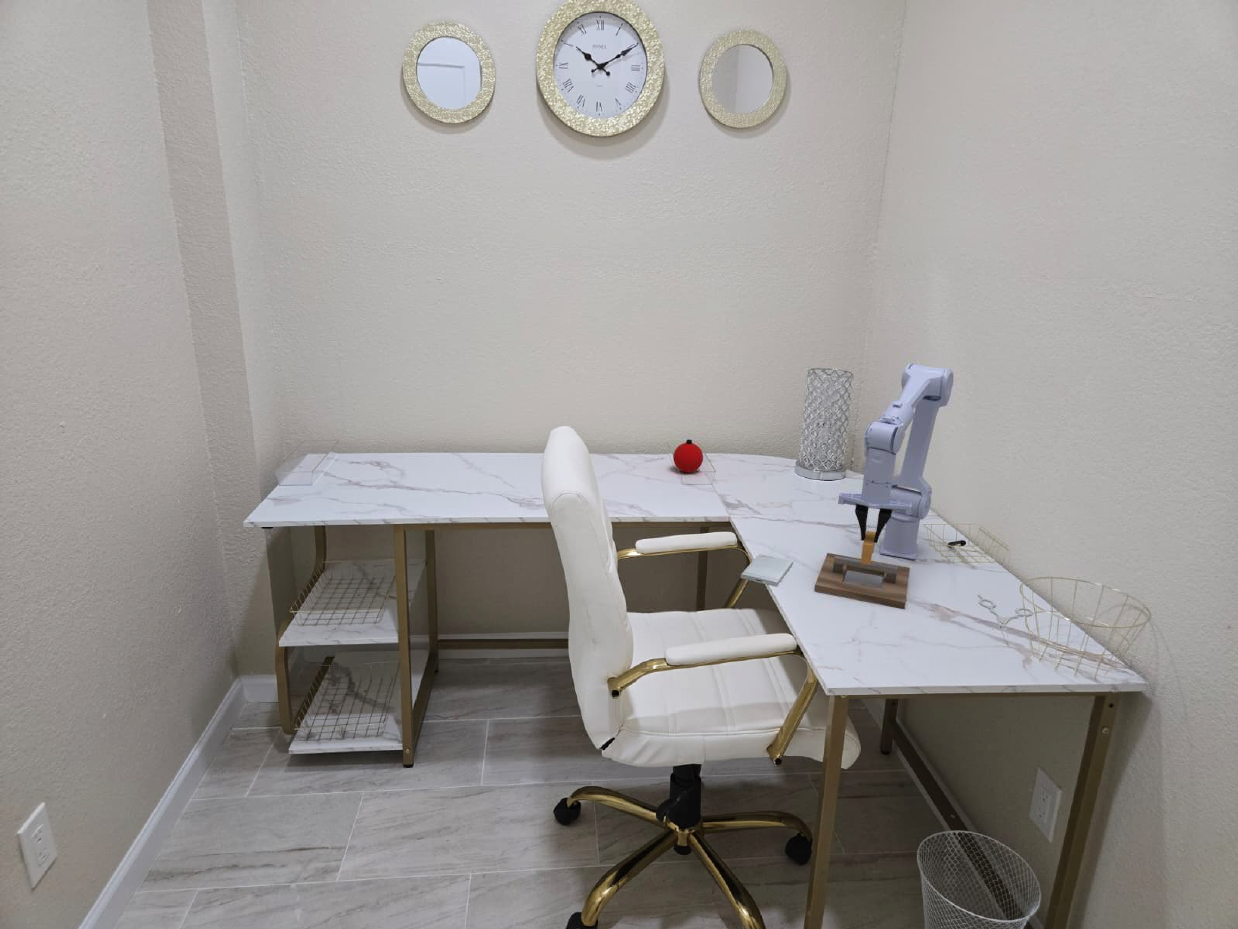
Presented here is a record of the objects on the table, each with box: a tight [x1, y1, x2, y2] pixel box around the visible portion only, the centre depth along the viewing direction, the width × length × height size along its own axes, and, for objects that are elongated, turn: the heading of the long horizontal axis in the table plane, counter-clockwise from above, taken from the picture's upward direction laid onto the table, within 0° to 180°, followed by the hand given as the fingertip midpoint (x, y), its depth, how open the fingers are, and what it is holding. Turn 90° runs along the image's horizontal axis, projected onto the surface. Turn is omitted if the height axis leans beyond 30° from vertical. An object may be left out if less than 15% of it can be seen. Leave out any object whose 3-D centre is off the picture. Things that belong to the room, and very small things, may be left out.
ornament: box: [672, 438, 704, 473], centre depth 238 cm, size 9×9×10 cm
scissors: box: [977, 593, 1034, 638], centre depth 157 cm, size 11×1×20 cm
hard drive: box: [740, 553, 794, 587], centre depth 175 cm, size 2×8×12 cm
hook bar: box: [833, 556, 898, 584], centre depth 170 cm, size 2×13×3 cm, turn 68°
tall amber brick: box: [860, 530, 876, 565], centre depth 169 cm, size 8×2×4 cm, turn 158°
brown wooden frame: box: [814, 552, 911, 610], centre depth 171 cm, size 18×18×2 cm
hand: (869, 540), depth 168 cm, fingers closed on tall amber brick, 2 cm apart
